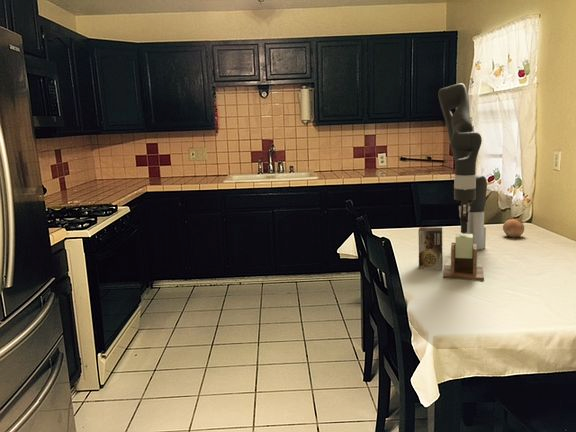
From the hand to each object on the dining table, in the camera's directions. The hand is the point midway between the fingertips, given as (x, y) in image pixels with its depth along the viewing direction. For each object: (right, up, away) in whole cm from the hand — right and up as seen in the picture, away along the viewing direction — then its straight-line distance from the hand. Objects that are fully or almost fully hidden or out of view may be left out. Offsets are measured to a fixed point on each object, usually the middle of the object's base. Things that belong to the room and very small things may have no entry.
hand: (463, 232), depth 179 cm
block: (+1, -9, +2) cm, 9 cm away
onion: (+45, -4, +55) cm, 71 cm away
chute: (+1, -16, +3) cm, 16 cm away
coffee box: (-9, -15, +13) cm, 21 cm away
